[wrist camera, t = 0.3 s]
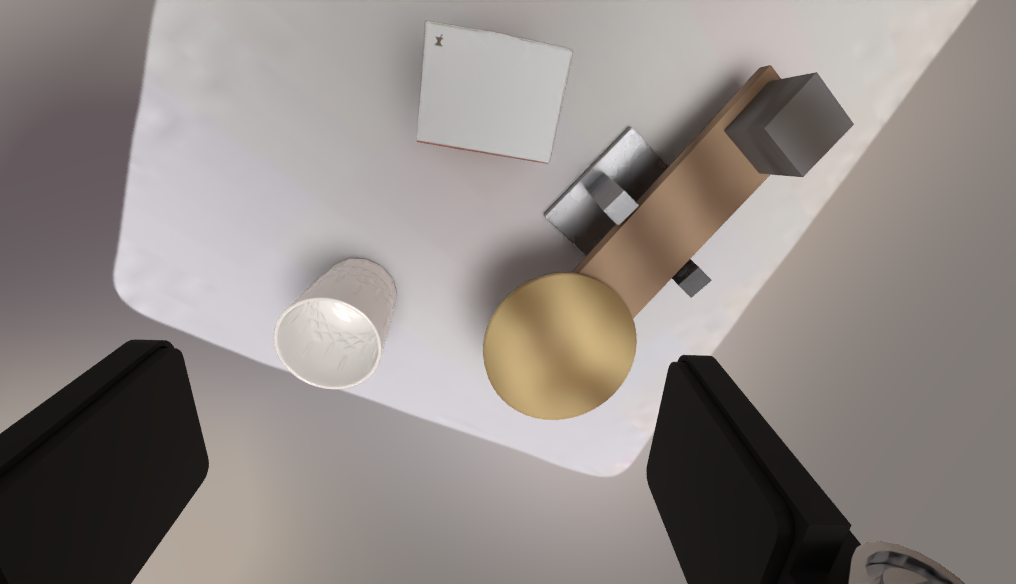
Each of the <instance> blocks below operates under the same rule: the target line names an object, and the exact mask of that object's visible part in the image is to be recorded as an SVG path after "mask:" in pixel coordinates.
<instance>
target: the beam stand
mask: <svg viewBox="0 0 1016 584" xmlns="http://www.w3.org/2000/svg"><path fill="white" fill-rule="evenodd" d="M667 168H668V166H667V165H666V164H665V163H664V162H663V161H662V160H661V159H660V158H659V156H658V155H657V154H656V153H655V152H654V151H653V150H652V149H651V148H650V147H649V146H648V144H647V143H646V142H645V141H644V140H643V139H642V138H641V137H640V136H639V135H638V133H637V132H636V131H635V130H634V129H633V128H632V127H628V128H627V129H626V130H625V131H624V132H623V133H622V134H621V135H620V136H619V137H618V138H617V139H616V140H615V141H614V143H613V144H612V145H611V146H610V147H609V148H608V149H607V150H606V151H605V152H604V153H603V154H602V155H601V156H600V157H599V158H598V159H597V160H596V161H595V162H594V163H593V164H592V165H591V166H590V167H589V168H588V169H587V170H586V171H585V172H584V173H583V174H582V175H581V176H580V177H579V178H578V179H577V180H576V181H575V182H574V184H573V185H572V186H571V187H570V188H569V189H568V190H567V191H566V192H565V193H564V194H563V195H562V196H561V197H560V198H559V199H558V200H557V201H556V202H555V203H554V204H553V205H552V206H551V207H550V208H549V209H548V210H547V211H546V212H545V213H544V215H545V217H546V218H547V219H548V220H549V221H550V222H551V223H552V224H553V225H555V226H556V227H557V228H558V229H559V230H560V231H561V232H562V233H563V234H564V235H565V236H566V237H567V238H568V239H570V240H571V241H572V242H573V243H574V244H575V245H576V246H577V247H578V248H579V249H580V250H581V251H582V252H583V253H585V254H586V255H588V254H589V253H590V252H591V251H592V250H593V249H594V247H595V246H596V245H597V244H598V243H599V242H600V241H601V240H602V239H603V238H604V237H605V235H606V234H607V233H608V232H609V231H610V230H611V229H612V228H613V227H614V226H615V225H616V224H617V225H619V224H621V223H622V222H623V221H624V220H625V219H626V218H627V217H628V216H629V215H630V214H631V213H632V212H633V211H634V210H635V209H636V208H637V207H638V206H639V205H638V204H637V203H636V202H637V201H638V200H639V199H640V197H641V196H642V195H643V194H644V193H645V192H646V191H647V190H648V189H649V188H650V187H651V185H652V184H653V183H654V182H655V181H656V180H657V179H658V178H659V177H660V176H661V175H662V173H663V172H664V171H665V170H666V169H667ZM672 279H673V280H674V281H675V282H676V283H677V284H678V285H679V286H680V287H681V288H682V289H683V290H684V291H685V292H686V293H687V294H688V295H689V296H690V297H691V298H692V297H693V296H694V295H695V294H696V293H697V292H699V291H700V290H701V289H702V288H703V287H704V286H706V285H707V284H708V283H709V282H710V281H712V280H711V279H710V278H709V277H708V276H707V275H706V274H705V273H704V272H703V271H702V270H701V269H700V268H699V267H698V266H697V265H696V264H695V263H694V262H693V261H692V260H691V259H689V260H688V261H687V263H686V264H685V265H684V266H683V267H682V268H681V269H680V270H679V271H678V272H677V273H676V274H675V275H674V276H673V277H672Z"/></svg>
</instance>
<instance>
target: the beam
mask: <svg viewBox="0 0 1016 584" xmlns="http://www.w3.org/2000/svg"><path fill="white" fill-rule="evenodd" d="M853 125H854V124H853V122H852V121H851V119H850V118H849V117H848V115H847V114H846V112H845V111H844V110H843V108H842V107H841V105H840V104H839V103H838V101H837V100H836V98H835V97H834V96H833V94H832V93H831V92H830V90H829V89H828V87H827V86H826V85H825V83H824V82H823V80H822V79H821V78H820V76H819V75H818V73H817V72H816V73H811V74H806V75H801V76H795V77H790V78H785V79H781V78H780V77H779V76H778V74H777V73H776V72H775V70H774V69H773V68H772V66H771V65H769V66H765V67H761V68H759V69H758V70H757V71H756V72H755V73H754V75H753V76H752V77H751V78H750V79H749V80H748V81H747V82H746V83H745V84H744V85H743V87H742V88H741V89H740V90H739V91H738V92H737V93H736V94H735V95H734V96H733V97H732V98H731V100H730V101H729V102H728V103H727V104H726V105H725V106H724V107H723V108H722V109H721V110H720V112H719V113H718V114H717V115H716V116H715V117H714V118H713V119H712V120H711V121H710V122H709V123H708V125H707V126H706V127H705V128H704V129H703V130H702V131H701V132H700V133H699V134H698V135H697V137H696V138H695V139H694V140H693V141H692V142H691V143H690V144H689V145H688V146H687V147H686V148H685V150H684V151H683V152H682V153H681V154H680V155H679V156H678V157H677V158H676V159H675V160H674V162H673V163H672V164H671V165H670V166H669V167H668V168H667V169H666V170H665V171H664V172H663V173H662V175H661V176H660V177H659V178H658V179H657V180H656V181H655V182H654V183H653V184H652V185H651V187H650V188H649V189H648V190H647V191H646V192H645V193H644V194H643V195H642V196H641V197H640V199H639V200H638V201H637V202H636V203H637V204H638V205H639V206H638V207H637V208H636V209H635V210H634V211H633V212H632V213H631V214H630V215H629V216H628V217H627V218H626V219H625V220H624V221H623V222H622V223H621V224H619V225H617V224H616V225H615V226H614V227H613V228H612V229H611V230H610V231H609V232H608V233H607V234H606V235H605V237H604V238H603V239H602V240H601V241H600V242H599V243H598V244H597V245H596V246H595V247H594V249H593V250H592V251H591V252H590V253H589V254H588V255H587V256H586V257H585V258H584V259H583V260H582V262H581V263H580V264H579V265H578V266H577V267H576V268H575V269H574V270H573V271H572V272H571V273H569V272H564V273H552V274H547V275H543V276H540V277H537V278H534V279H532V280H530V281H528V282H526V283H524V284H522V285H521V286H519V287H518V288H516V289H515V290H514V291H512V292H511V293H510V294H509V295H508V296H507V297H506V298H505V299H504V300H503V301H502V302H501V303H500V305H499V306H498V307H497V309H496V310H495V312H494V314H493V315H492V317H491V319H490V321H489V324H488V326H487V329H486V333H485V337H484V344H483V357H484V364H485V368H486V371H487V375H488V378H489V380H490V382H491V385H492V386H493V388H494V390H495V391H496V393H497V394H498V395H499V396H500V397H501V399H502V400H503V401H504V402H506V403H507V404H508V405H509V406H510V407H512V408H513V409H515V410H517V411H518V412H521V413H523V414H525V415H528V416H531V417H534V418H539V419H545V420H560V419H567V418H573V417H576V416H579V415H582V414H584V413H587V412H589V411H591V410H593V409H595V408H596V407H598V406H600V405H601V404H602V403H604V402H605V401H607V400H608V399H609V398H610V397H611V396H612V395H613V394H614V393H615V392H616V391H617V390H618V389H619V387H620V386H621V385H622V383H623V382H624V380H625V379H626V377H627V375H628V373H629V371H630V369H631V366H632V364H633V361H634V357H635V353H636V343H637V341H636V329H635V324H634V321H633V318H634V317H635V316H636V315H637V314H638V313H639V312H640V311H641V310H642V309H643V308H644V307H645V305H646V304H647V303H648V302H649V301H650V300H651V299H652V298H653V297H654V296H655V295H656V294H657V293H658V292H659V291H660V290H661V289H662V288H663V287H664V286H665V285H666V283H667V282H668V281H669V280H670V279H671V278H672V277H673V276H674V275H675V274H676V273H677V272H678V271H679V270H680V269H681V268H682V267H683V266H684V265H685V264H686V263H687V261H688V260H689V259H690V258H691V257H692V256H693V255H694V254H695V253H696V252H697V251H698V250H699V249H700V248H701V247H702V246H703V245H704V244H705V243H706V242H707V241H708V239H709V238H710V237H711V236H712V235H713V234H714V233H715V232H716V231H717V230H718V229H719V228H720V227H721V226H722V225H723V224H724V223H725V222H726V221H727V220H728V218H729V217H730V216H731V215H732V214H733V213H734V212H735V211H736V210H737V209H738V208H739V207H740V206H741V205H742V204H743V203H744V202H745V201H746V200H747V199H748V198H749V196H750V195H751V194H752V193H753V192H754V191H755V190H756V189H757V188H758V187H759V186H760V185H761V184H762V183H763V182H764V181H765V180H766V179H767V178H768V177H769V176H770V174H772V175H784V176H796V177H804V176H805V175H806V173H807V172H808V171H809V170H810V169H811V168H812V167H813V166H814V165H815V164H816V163H817V162H818V161H819V160H820V159H821V158H822V157H823V156H824V155H825V154H826V153H827V152H828V151H829V150H830V149H831V148H832V147H833V145H834V144H835V143H836V142H837V141H838V140H839V139H840V138H841V137H842V136H843V135H844V134H845V133H846V132H847V131H848V130H849V129H850V128H851V127H852V126H853Z"/></svg>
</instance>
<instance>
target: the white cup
mask: <svg viewBox="0 0 1016 584" xmlns="http://www.w3.org/2000/svg"><path fill="white" fill-rule="evenodd" d="M396 296H397V292H396V289H395V285H394V282H393V279H392V278H391V276H390V275H389V274H388V273H387V272H386V271H385V270H384V268H383V267H382V266H380V265H378V264H375V263H373V262H371V261H369V260H367V259H351V258H350V259H347V260H344V261H342V262H340V263H337V264H335V265H334V266H333V267H332V268H331V269H330V270H329V271H328V272H327V273H325V274H324V275H322V276H321V277H320V278H319V279H318V280H317V281H315V282H314V283H313V284H312V285H311V286H310V287H309V288H308V289H307V290H306V291H305V292H304V293H303V294H302V295H301V296H300V297H299V298H298V299H297V300H296V301H295V302H294V303H293V304H292V305H291V306H290V307H288V308H287V309H286V310H285V311H284V312H283V314H282V315H281V316H280V318H279V319H278V321H277V324H276V326H275V330H274V345H275V349H276V352H277V354H278V356H279V358H280V360H281V362H282V363H283V364H284V366H285V367H286V368H287V369H288V370H289V371H290V372H291V373H292V374H293V375H295V376H296V377H297V378H299V379H300V380H302V381H304V382H306V383H308V384H311V385H313V386H317V387H320V388H327V389H343V388H348V387H352V386H355V385H357V384H359V383H361V382H363V381H364V380H366V379H367V378H368V377H369V376H370V375H371V374H372V373H373V372H374V371H375V369H376V368H377V366H378V364H379V361H380V358H381V355H382V351H383V348H384V344H385V341H386V338H387V335H388V331H389V328H390V324H391V320H392V316H393V309H394V305H395V300H396Z"/></svg>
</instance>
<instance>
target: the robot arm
mask: <svg viewBox="0 0 1016 584" xmlns="http://www.w3.org/2000/svg"><path fill="white" fill-rule="evenodd" d="M208 467H209V460H208V455H207V451H206V447H205V443H204V439H203V435H202V431H201V427H200V423H199V419H198V415H197V410H196V406H195V402H194V398H193V394H192V390H191V386H190V382H189V378H188V374H187V370H186V366H185V362H184V358H183V355H182V352H181V351H180V350H178V349H176V348H174V346H173V345H172V344H171V343H170V342H168V341H166V340H165V341H164V340H130V341H128V342H126V343H125V344H123V345H122V346H121V347H119V348H118V349H116V350H115V351H114V352H112V353H111V354H110V355H108V356H107V357H105V358H104V359H103V360H101V361H100V362H98V363H97V364H96V365H94V366H93V367H92V368H90V369H89V370H87V371H86V372H85V373H83V374H82V375H81V376H79V377H78V378H76V379H75V380H74V381H72V382H71V383H70V384H68V385H67V386H65V387H64V388H63V389H61V390H60V391H58V392H57V393H56V394H54V395H53V396H52V397H51V398H49V399H47V400H46V401H45V402H43V403H42V404H41V405H39V406H38V407H36V408H35V409H34V410H33V411H31V412H30V413H28V414H27V415H25V416H24V417H23V418H21V419H20V420H19V421H17V422H16V423H14V424H13V425H12V426H10V427H9V428H8V429H6V430H5V431H3V432H2V433H1V434H0V584H131V583H132V581H133V580H134V579H135V577H136V576H137V574H138V573H139V571H140V570H141V569H142V567H143V566H144V565H145V563H146V562H147V560H148V559H149V557H150V556H151V554H152V553H153V552H154V550H155V549H156V547H157V546H158V545H159V543H160V542H161V540H162V539H163V537H164V536H165V535H166V533H167V532H168V531H169V529H170V528H171V526H172V525H173V524H174V522H175V521H176V519H177V518H178V516H179V515H180V514H181V512H182V511H183V509H184V508H185V507H186V505H187V503H188V502H189V501H190V499H191V498H192V497H193V495H194V494H195V492H196V491H197V489H198V488H199V487H200V485H201V484H202V483H203V481H204V479H205V477H206V475H207V472H208ZM647 481H648V485H649V488H650V490H651V493H652V495H653V498H654V500H655V503H656V505H657V508H658V510H659V513H660V515H661V518H662V521H663V523H664V525H665V528H666V531H667V533H668V536H669V538H670V540H671V543H672V546H673V548H674V551H675V553H676V556H677V558H678V561H679V563H680V566H681V568H682V571H683V573H684V576H685V578H686V581H687V583H688V584H965V583H964V582H963V581H962V580H961V579H960V578H958V577H957V576H956V575H954V574H953V573H952V572H950V571H949V570H948V569H946V568H945V567H943V566H942V565H941V564H939V563H938V562H936V561H934V560H932V559H930V558H928V557H927V556H925V555H923V554H921V553H919V552H917V551H915V550H912V549H909V548H907V547H904V546H901V545H899V544H893V543H888V542H883V541H876V542H866V543H864V544H862V545H861V544H860V543H859V541H858V540H857V539H856V538H855V536H854V535H853V534H852V533H851V531H850V530H849V529H850V527H851V524H850V523H849V522H848V520H847V519H846V518H845V517H844V516H843V515H842V513H841V512H840V511H839V509H838V508H837V507H836V506H835V505H834V503H833V502H832V501H831V500H830V498H829V497H828V496H827V495H826V494H825V492H824V491H823V490H822V489H821V487H820V486H819V485H818V484H817V483H816V481H815V480H814V479H813V478H812V476H811V475H810V474H809V473H808V472H807V470H806V469H805V468H804V467H803V465H802V464H801V463H800V462H799V461H798V459H797V458H796V457H795V456H794V455H793V453H792V452H791V451H790V450H789V448H788V447H787V446H786V445H785V444H784V442H783V441H782V440H781V439H780V437H779V436H778V435H777V434H776V432H775V431H774V430H773V429H772V428H771V426H770V425H769V424H768V423H767V422H766V420H765V419H764V418H763V417H762V415H761V414H760V413H759V412H758V410H757V409H756V408H755V407H754V406H753V404H752V403H751V402H750V401H749V399H748V398H747V397H746V396H745V395H744V393H743V392H742V391H741V390H740V389H739V388H738V386H737V385H736V384H735V382H734V381H733V380H732V379H731V377H730V376H729V375H728V374H727V373H726V371H725V370H724V369H723V368H722V367H721V365H720V364H719V363H718V362H717V360H716V359H715V358H714V357H712V356H698V355H682V356H681V357H680V358H679V359H678V362H672V363H671V364H670V366H669V369H668V373H667V377H666V382H665V386H664V391H663V395H662V400H661V404H660V409H659V414H658V418H657V423H656V427H655V432H654V436H653V441H652V445H651V450H650V454H649V459H648V464H647Z"/></svg>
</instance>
